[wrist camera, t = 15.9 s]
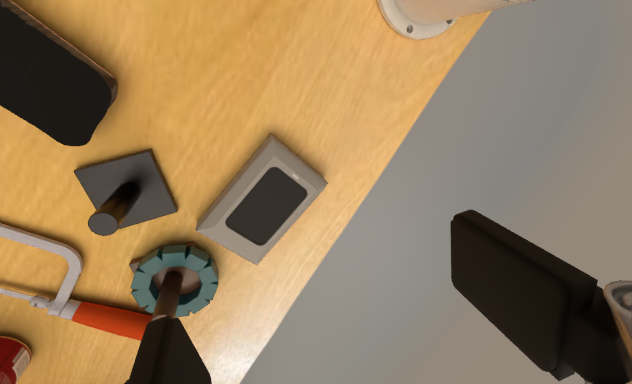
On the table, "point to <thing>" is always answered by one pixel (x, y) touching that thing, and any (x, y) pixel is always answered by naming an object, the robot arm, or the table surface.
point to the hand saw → (62, 305)
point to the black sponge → (50, 79)
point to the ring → (173, 257)
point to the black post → (125, 192)
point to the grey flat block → (261, 201)
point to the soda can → (13, 359)
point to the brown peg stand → (171, 286)
